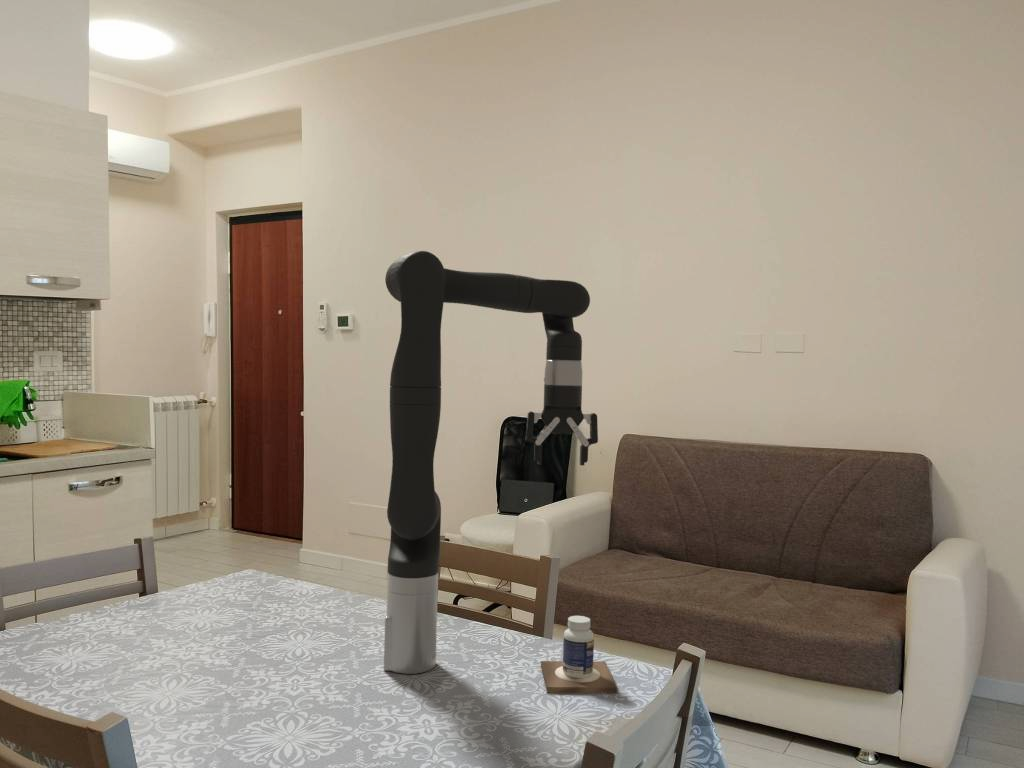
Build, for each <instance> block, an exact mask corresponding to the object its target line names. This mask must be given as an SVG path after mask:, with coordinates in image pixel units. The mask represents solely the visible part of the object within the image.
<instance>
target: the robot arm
mask: <svg viewBox="0 0 1024 768" xmlns="http://www.w3.org/2000/svg"><path fill="white" fill-rule="evenodd" d="M444 267H445V266H443V263H442V261H441V259H439V258H438V257H437V256H436V255H435V254H434V253H432V252H429V251H426V250H418V251H413V252H410V253H407V254H405V255H402V256H400V257H398V258H397V259H395V260H394V261H393V262H392V263H391V264H390V265H389V267H388V269H387V270H386V273H385V278H384V279H385V285H386V288H387V290H388V292H389V294H390V296H391V297H393V298H394V299H395V300H396V301H398V302H399V303H400V313H401V314H400V315H401V317H400V318H401V324H400V326H401V327H400V335H399V340H398V344H397V347H396V351H395V354H394V359H393V362H392V365H391V366H392V367H391V372H390V380H389V420H390V421H389V423H390V427H389V428H390V441H391V442H390V443H391V452H392V453H391V456H392V464H391V465H392V467H391V468H392V469H391V478H390V487H389V493H388V502H387V510H386V515H387V520H388V523H389V526H390V543H389V551H388V556H387V582H386V583H387V585H386V587H387V589H386V614H385V618H384V642H383V643H384V645H383V650H384V651H383V671H390V672H393V673H397V674H403V675H404V674H406V675H407V674H410V675H411V674H420V673H425V672H428V671H431V670H432V669H434V668H435V667H436V665H437V664H436V663H437V636H438V635H437V629H438V595H439V593H438V590H439V589H438V588H439V587H438V586H439V560H440V553H441V551H440V550H441V529H442V528H441V525H442V506H441V505H442V503H441V500H440V499H441V498H440V497H439V495H438V493H437V492H436V490H435V488H436V487H435V473H434V471H435V470H434V459H435V451H436V445H437V441H438V436H439V435H438V434H439V428H440V420H441V410H442V409H441V408H442V345H441V343H442V341H441V339H442V338H441V336H442V335H441V334H442V333H441V331H442V318H443V311H444V303H445V304H457V305H458V304H461V305H466V306H467V305H468V306H469V305H470V306H476V307H482V308H489V309H495V310H501V311H506V312H514V313H515V312H516V313H520V314H521V313H523V314H535V313H537V314H538V313H540V314H541V313H542V320H543V326H544V332H545V334H546V335H545V336H546V340H547V341H546V352H545V353H546V354H545V355H546V357H545V358H546V359H545V360H546V361H545V368H544V377H543V382H544V384H543V385H544V386H543V409H542V411H541V412H535V411H534V412H533V411H531V410H530V411H528V412H527V417H526V429H525V430H526V431H525V441H526V442H528V443H531V444H533V446H534V447H533V448H534V449H533V450H534V451H533V458H534V461H535V462H537V465H542V463H543V459H542V458H543V445H542V443H543V442H544V441H545V440H546V438H548V436H549V435H550V434H553V435H562V434H563V435H571V434H574V436H575V437H576V439H578V441H579V443H580V446H579V466H585V463H588V461H589V447H590V446H592V445H594V444H595V445H596V444H597V443H598V442H599V435H598V426H599V425H598V414H596V413H595V412H591V413H583V410H582V401H583V399H582V395H583V394H582V393H583V366H582V364H583V363H582V355H583V354H582V352H583V341H582V340H583V338H582V335H581V334H580V333H579V332H578V331H576V330H575V328H574V320H573V319H574V318H577V317H580V316H582V315H583V314H585V312H587V310H588V308H589V306H590V303H591V297H590V293H589V291H588V289H587V288H586V287H585V286H584V285H582V284H581V283H579V282H576V281H572V280H561V279H541V278H540V279H539V278H535V277H531V276H526V275H520V274H519V275H518V274H511V273H504V272H503V273H501V272H484V271H483V272H479V271H476V272H475V271H463V270H456V269H449V268H444ZM540 419H541V420H542V421H543V423H544V427H543V429H542V430H541V431H540V432H539V434H537V436H536V437H535V436H534V435H533V434H534V426H535V425H534V424H537V423H538V421H539V420H540ZM584 420H585V421H586V424H587V425H589V437H588V438H586V437H585V435H584V433H583V432H582V430H581V429H580V427H579V426H580V424H581V423H582V422H583V421H584Z"/></svg>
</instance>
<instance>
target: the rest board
mask: <svg viewBox="0 0 1024 768" xmlns="http://www.w3.org/2000/svg"><path fill="white" fill-rule="evenodd" d="M540 668H541V673H542V677H543V681H544V686H545V690H546V693H547V694H553V693H554V694H617V693H618V686H617V685H616V682H615V680H614V678H613V676H612V674H611V672H610V668H609V666H608V664H607V662H606V661H594V660H593V673H592V675H591V676H589V677H586V678H573V677H569V676H567V675H565V674H564V673H563V660H540Z"/></svg>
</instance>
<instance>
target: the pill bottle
mask: <svg viewBox="0 0 1024 768" xmlns="http://www.w3.org/2000/svg"><path fill="white" fill-rule="evenodd" d="M567 627H568V628H566V629H565V630H564V632H563V649H562V650H563V651H562V661H563V673H564V674H565V675H567V676H569V677H573V678H586V677H589V676H591V675H592V673H593V661H594V648H595V647H594V646H595V634H594V632H593V631H592V630H591V629H590V628H591V618H589V617H587V616H584V615H571V616H569V617H567Z"/></svg>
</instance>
